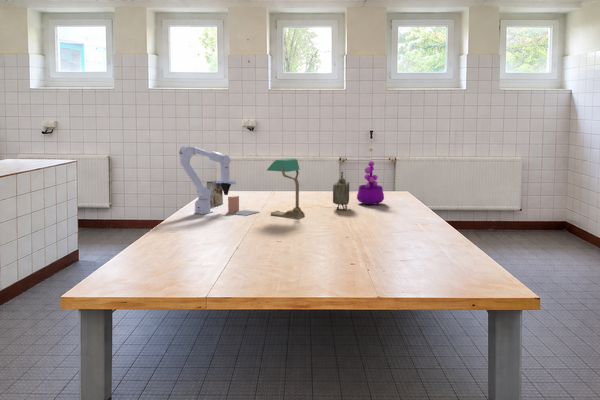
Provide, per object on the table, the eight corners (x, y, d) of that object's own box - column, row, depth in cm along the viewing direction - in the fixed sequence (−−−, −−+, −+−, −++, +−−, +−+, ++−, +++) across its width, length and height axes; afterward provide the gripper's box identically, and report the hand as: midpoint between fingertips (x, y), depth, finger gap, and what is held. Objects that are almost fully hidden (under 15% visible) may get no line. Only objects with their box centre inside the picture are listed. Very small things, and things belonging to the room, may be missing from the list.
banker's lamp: (294, 219, 338) (294, 160, 332) (265, 216, 348) (265, 159, 343) (307, 215, 351) (307, 158, 346) (279, 212, 362) (279, 157, 356)
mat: (246, 215, 349) (246, 215, 349) (230, 213, 355) (230, 213, 355) (259, 212, 361) (259, 211, 361) (244, 210, 367) (244, 209, 367)
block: (233, 212, 359) (233, 197, 358) (228, 212, 361) (228, 196, 360) (239, 211, 364) (238, 196, 363) (234, 210, 366) (233, 195, 365)
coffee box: (216, 203, 396) (216, 180, 393) (223, 204, 392) (222, 181, 389) (206, 204, 389) (206, 181, 386) (213, 205, 385) (213, 182, 382)
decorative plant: (376, 207, 383) (377, 162, 378) (352, 204, 393) (352, 161, 388) (388, 203, 398) (389, 160, 394) (364, 200, 408) (365, 159, 404)
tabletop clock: (346, 211, 366) (347, 172, 362) (332, 210, 368) (333, 172, 364) (349, 207, 380) (349, 170, 376) (335, 207, 382) (336, 170, 378)
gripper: (238, 173, 362) (238, 194, 364) (220, 172, 369) (221, 193, 372) (231, 174, 356) (232, 196, 358) (213, 173, 363) (214, 194, 366)
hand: (226, 194), depth 364 cm, fingers closed
